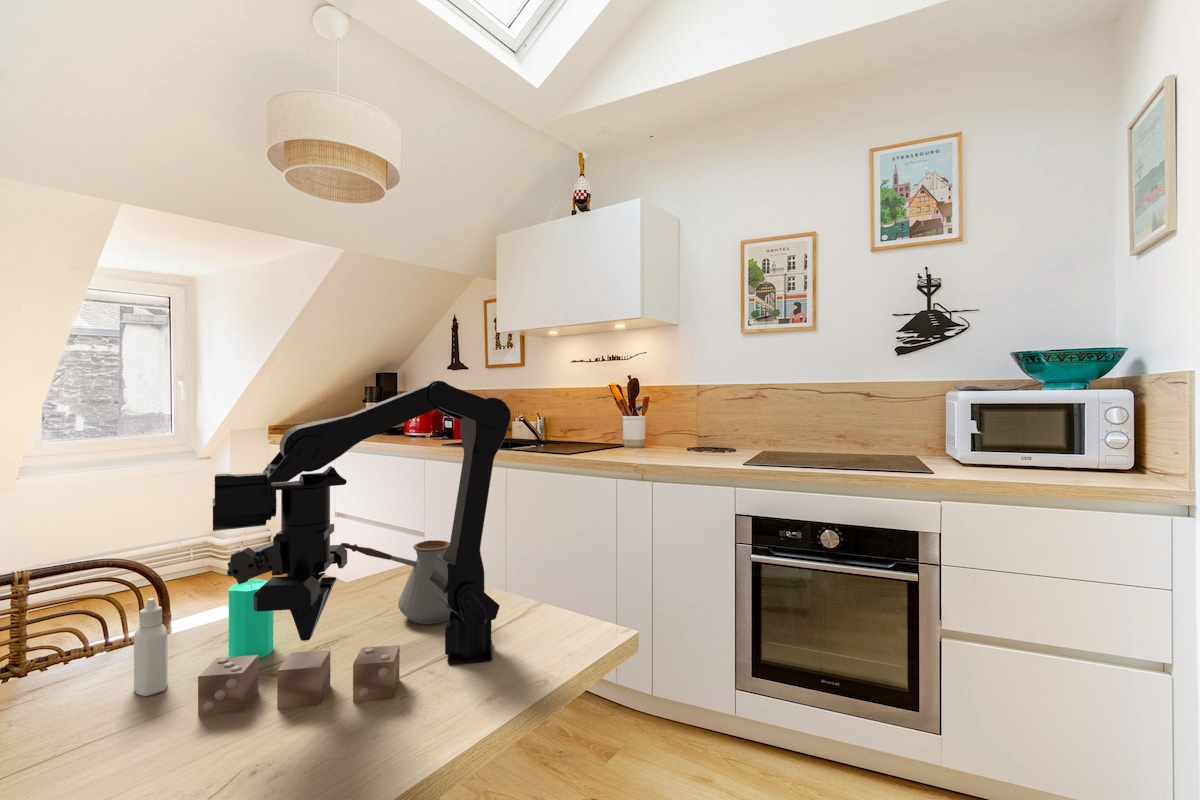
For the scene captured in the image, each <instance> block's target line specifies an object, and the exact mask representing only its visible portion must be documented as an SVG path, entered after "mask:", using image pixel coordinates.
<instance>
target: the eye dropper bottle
mask: <svg viewBox="0 0 1200 800" xmlns="http://www.w3.org/2000/svg"><path fill="white" fill-rule="evenodd" d="M156 604H157V603H156V600H155V598H154V597H153V598H152V597H151V598H148V599H147V601H146V606H145V607H144V608H142V609H141V610H139V614H138V615H139V617H138V619H139V620H138V621H139V622H138V623H139V627H138V628H137V629H136V630H135V632H134V636H133V688H134V692H135V693H136V694H137V695H138V696H142V697H149V696H153V695H156V694H160V693H162V692H164V691H166V689H167V687H168V681H169V680H168V676H169V675H168V673H169V672H168V662H169V661H168V658H169V657H168V654H169V653H168V643H169V642H168V640H169V639H168V630H167V627H166V625H164V624H163V607H162V606H160V605H156Z"/></svg>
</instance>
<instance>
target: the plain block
mask: <svg viewBox="0 0 1200 800" xmlns="http://www.w3.org/2000/svg"><path fill="white" fill-rule="evenodd" d="M276 673H277V674H276V675H277V678H276V679H277V682H276V683H277V687H276V688H277V689H276V691H277V697H276V699H277V703H276V704H277V706H276V707H277V710H280V709H282V710H283V709H291V708H292V709H294V708H303V707H316V706H321V704H322V702H323V700H324V698H325V697H326V695H327V693H328V691H329V689H330V687H331V649H327V650H326V649H325V650H323V649H322V650H313V651H312V650H311V651H309V650H308V651H299V652H298V651H297V652H295V651H294V652H290V653H289V654H288V655H287V657H286V659H284V661H282V664H281V665H280V666H279V668H278V669H277V672H276Z"/></svg>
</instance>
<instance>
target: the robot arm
mask: <svg viewBox="0 0 1200 800" xmlns="http://www.w3.org/2000/svg"><path fill="white" fill-rule="evenodd" d="M435 410H436V411H438V412H441V413H443V414H445V415H446V416H449V417H451V418H453V419H455V420H458V421H459V428H460V429H459V430H460V431H459V434H460V438H461V444H462V449H463V460H462V465H461V469H460V470H461V472H460V478H459V483H458V484H459V485H458V488H457V489H458V491H457V497H456V503H455V510H454V515H453V523H452V528H451V533H450V534H451V535H450V541H449V543H450V544H449V547H448V548H447V550H446V552H445V553H444V555H443V556H441V555H435V556H434V570H433V573H432V576H431V577H430V579H429V580H430V581H431V582H432V583H433V589H434V592H435V594H436V595H437V596H438V597H439V598H440V599H441V600H442V601H443V602H444V603H445V604H446V606H447V608H448V609H450V610H452V611H450V617H449V619H448V620H446V623H445V629H444V655H446V656H447V664H448V665H449V664H451V665H452V664H464V663H466V664H467V663H476V662H477V663H479V662H489V661H492V660H493V640H492V621H494V620H495V619H497V615H498V614H499V609H500V604H499V603H498V602H496V601H495V600H494V599H493V598H492V597H490V596H489V595H488V594H487V593H485V587H486V586H485V569H484V567H485V566H484V563H483V559H482V554H481V547H482V546H481V544H482V538H483V534H484V526H485V518H486V512H487V505H488V499H489V493H490V486H491V481H492V474H493V473H492V472H493V468H494V460H495V456H496V455H497V453H498V451H499V450H500V449H501V447H502V445H503V443H504V442H505V439H506V437H507V433H508V430H509V426H510V423H511V419H512V418H511V417H512V412H511V409H510V407H509V406H508V405H507V403H506V402H505V401H503V400H502V399H500V398H497V397H481V396H480V395H476V394H474V393H471V392H468V391H467V390H466V391H465V390H462V389H460V388H457V387H454V386H453V385H450V384H449V383H447V382H445V381H443V380H431V381H430V380H429V381H426V382H423V384H421V385H420V386H418V387H415V388H413V389H410V390H407V391H405V392H402V393H400V394H397V395H395V396H391V397H389V398H388V399H385V400H383V401H379V402H377V403H375V404H372V405H369V406H367V407H364V408H362V409H360V410H356V411H354V412H352V413H349V414H347V415H343V416H337V417H331V418H327V419H321V420H316V421H311V422H307V423H303V424H298V425H295V426H292V427H291V428H289V429H287V430H286V431H285V432H284V433H283V435H282V437H281V439H280V441H279V451H278V453H277V454H276V455H275V456H274V457H273V458H272V460H271V461H270V463H268V464H266V465H267V466H266V467H265V469H263V471H262V472H258V473H256V472H255V473H254V472H253V473H242V474H241V473H240V474H239V473H238V474H235V473H234V474H232V473H217V474H215V475H214V498H212V532H217V531H227V530H235V529H237V530H238V529H244V528H245V529H246V528H254V527H255V528H256V527H265V526H267V521H271V520H272V518H274V517H276V516H277V491H281V492H280V494H281V495H280V496H281V497H280V499H281V500H280V501H281V504H280V505H281V507H280V508H281V509H280V510H281V511H280V512H281V515H280V516H281V518H280V519H281V522H280V531H278V532H277V533H275V534H274V536H273V539H272V541H270V542H268V543H265V544H263V545H262V544H261V545H259V546H257V547H254V548H251V547H246V548H244V549H243V550H238V551H236V552H234V553H232V554H230V560H229V561H228V563H226V564H227V566H228V569H227V572H226V574H227V576H229V577H232V578H234V579H235V580H236V582H237V583H238V584H242V583H245V582H247V581H248V580H251V578H252V579H255V577H259V576H261V575H263V574H267V573H268V572H271V578H269V580H267V581H268V582H266V583H265V584H264V585H263V586H262V587H261V588H260V589H259V590H258V591H257V592H256V593H255V594H254V611H256V612H260V611H273V612H275V611H287V610H288V611H290V613H291V616H292V618H293V621H294V625H295V627H296V630H297V634H298V636H299V639H300V640H301V641H305V642H306V641H309V640H311V638H312V636H313V635H314V632H315V630H316V628H317V625H318V623H319V620H320V618H321V615H322V613H323V611H324V608H325V606H326V604H327V602H328V600H329V597H330V595H331V593H332V590H333V588H334V585H335V583H336V582H337V577H336V576H331V577H330V576H329V577H327V576H326V571H327V570H328V568H330V566H331V565H334V564H335V565H337V568H338V569H344V568H345V567H346V565H347V564H348V550H347V549H346V548H344V547H343V546H341V544H331V534H333V533H334V532H335V523H331V487H334V486H335V487H337V486H344V485H347V483H348V481H347V480H346V478H344V477H342V476H341V475H340V474H339V473H338V471H337V470H336V468H335V467H334V466H328V467H327V468H326V469H325V470H324V471H323V472H315V471H318V470H319V471H320V469H323V468H324V467H326V466H327V465H329V464H330V463H332V462H333V461H336V459H338V458H340V457H342V456H343V455H344V454H345V453H347V452H349V450H351V449H352V448H354V446H356V445H357V444H359V443H361V442H362V441H364V440H366V439H368V438H371V437H374V436H376V435H377V434H380V433H383V432H385V431H387V430H390V429H392V428H395V427H397V426H399V425H401V424H404V423H406V422H408V421H412V420H414V419H415V418H418V417H420V416H422V415H426V414H427V413H430V412H432V411H435ZM313 471H314V473H313ZM303 472H305V473H303ZM308 472H310V473H308ZM311 472H312V473H311ZM299 475H300V476H299ZM297 476H299V478H298V480H293V481H291V480H292V479H294V478H295V477H297ZM283 575H284V576H283ZM285 575H286V576H285ZM272 576H273V577H272Z"/></svg>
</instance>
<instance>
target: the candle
mask: <svg viewBox="0 0 1200 800" xmlns="http://www.w3.org/2000/svg"><path fill="white" fill-rule="evenodd" d="M268 581H269V580H265V579H259V578H251V579H249V580H248V581H247V582H245V583H242V584H238V582H237V583H234V584H232V586H230V587H229V588H228V657H237V656H251V655H258V660H259V659H262V658H265V657H267V656H269V655H270V654H271V653H272V652H273V651H274V611H260V612H256V611H254V594H255V593H256V592H257V591H258V590H259V589H260V588H261V587H262V586H263V585H264V584H265V583H266V582H268Z"/></svg>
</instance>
